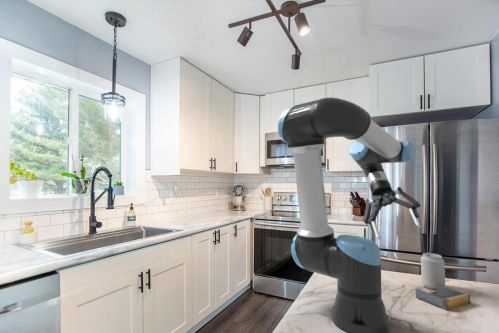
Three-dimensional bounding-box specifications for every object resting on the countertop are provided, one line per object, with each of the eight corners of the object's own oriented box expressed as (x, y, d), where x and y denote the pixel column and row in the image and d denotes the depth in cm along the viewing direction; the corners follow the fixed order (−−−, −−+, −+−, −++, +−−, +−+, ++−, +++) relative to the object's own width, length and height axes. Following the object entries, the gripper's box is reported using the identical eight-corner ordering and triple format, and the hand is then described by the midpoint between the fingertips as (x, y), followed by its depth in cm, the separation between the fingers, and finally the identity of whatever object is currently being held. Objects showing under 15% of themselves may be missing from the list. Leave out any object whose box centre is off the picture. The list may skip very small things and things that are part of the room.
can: (432, 282, 106) (430, 251, 107) (450, 289, 99) (449, 256, 100) (416, 284, 104) (415, 252, 105) (434, 292, 97) (433, 258, 98)
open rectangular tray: (446, 310, 83) (446, 300, 83) (415, 297, 92) (415, 288, 93) (470, 303, 88) (470, 294, 88) (438, 292, 97) (438, 283, 97)
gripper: (414, 176, 105) (439, 225, 91) (354, 200, 118) (368, 246, 103) (408, 167, 101) (433, 216, 87) (346, 192, 113) (359, 239, 99)
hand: (398, 232), depth 95 cm, fingers open, 13 cm apart
